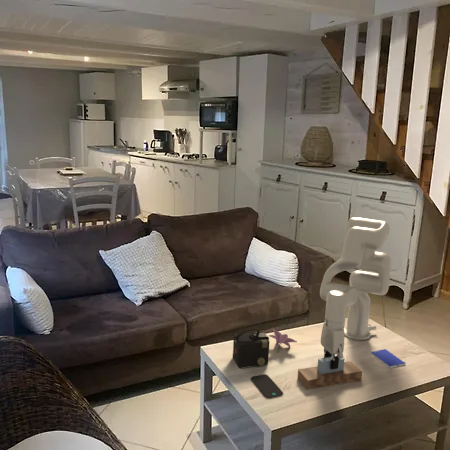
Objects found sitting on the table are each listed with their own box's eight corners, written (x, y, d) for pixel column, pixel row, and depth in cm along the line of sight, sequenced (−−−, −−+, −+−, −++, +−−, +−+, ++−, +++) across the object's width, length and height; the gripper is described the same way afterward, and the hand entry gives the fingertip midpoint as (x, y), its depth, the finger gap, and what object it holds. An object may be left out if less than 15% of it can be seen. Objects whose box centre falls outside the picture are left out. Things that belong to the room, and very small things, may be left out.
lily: (298, 356, 207) (301, 334, 209) (279, 352, 200) (282, 329, 203) (279, 353, 216) (282, 332, 219) (260, 349, 210) (263, 327, 212)
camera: (271, 366, 196) (273, 333, 192) (239, 370, 192) (240, 336, 189) (262, 353, 206) (263, 321, 203) (231, 357, 202) (232, 324, 199)
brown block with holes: (350, 369, 195) (350, 361, 194) (361, 380, 188) (362, 371, 187) (297, 378, 188) (298, 369, 187) (307, 389, 180) (307, 380, 179)
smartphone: (266, 398, 173) (249, 376, 187) (266, 400, 173) (249, 378, 187) (284, 394, 176) (266, 373, 190) (284, 396, 176) (266, 375, 190)
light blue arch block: (338, 375, 191) (340, 355, 188) (342, 379, 188) (344, 358, 186) (316, 379, 187) (318, 358, 185) (320, 383, 185) (322, 362, 183)
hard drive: (370, 351, 208) (390, 365, 197) (385, 348, 211) (405, 362, 200) (370, 354, 209) (389, 369, 198) (385, 351, 212) (405, 365, 201)
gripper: (315, 314, 188) (311, 356, 193) (337, 333, 173) (333, 378, 177) (331, 312, 191) (328, 353, 195) (355, 330, 175) (351, 375, 180)
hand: (330, 365), depth 186 cm, fingers open, 4 cm apart
